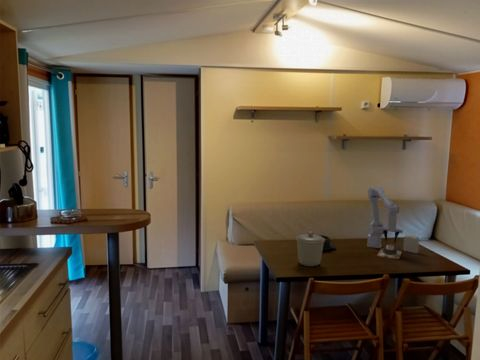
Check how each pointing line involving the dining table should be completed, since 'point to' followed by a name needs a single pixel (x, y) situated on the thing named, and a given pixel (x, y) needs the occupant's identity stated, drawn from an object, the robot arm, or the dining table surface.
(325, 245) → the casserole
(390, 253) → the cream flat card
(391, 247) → the white round cylinder
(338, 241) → the dining table surface
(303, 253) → the canister
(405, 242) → the photo printer
